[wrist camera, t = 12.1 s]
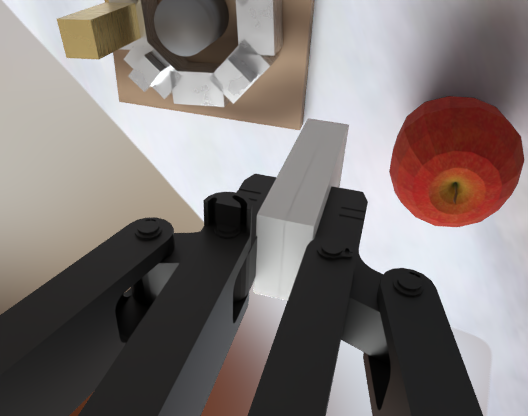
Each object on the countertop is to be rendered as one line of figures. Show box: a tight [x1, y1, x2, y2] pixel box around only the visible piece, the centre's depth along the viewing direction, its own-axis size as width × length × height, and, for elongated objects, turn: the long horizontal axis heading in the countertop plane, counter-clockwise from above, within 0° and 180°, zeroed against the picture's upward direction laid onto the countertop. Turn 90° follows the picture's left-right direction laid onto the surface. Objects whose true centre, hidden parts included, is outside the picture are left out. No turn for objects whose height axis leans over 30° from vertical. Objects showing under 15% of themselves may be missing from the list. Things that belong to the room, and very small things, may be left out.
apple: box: [389, 96, 524, 227], centre depth 40 cm, size 10×10×14 cm
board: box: [105, 0, 315, 130], centre depth 44 cm, size 20×20×6 cm
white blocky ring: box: [57, 0, 283, 107], centre depth 41 cm, size 16×15×10 cm
